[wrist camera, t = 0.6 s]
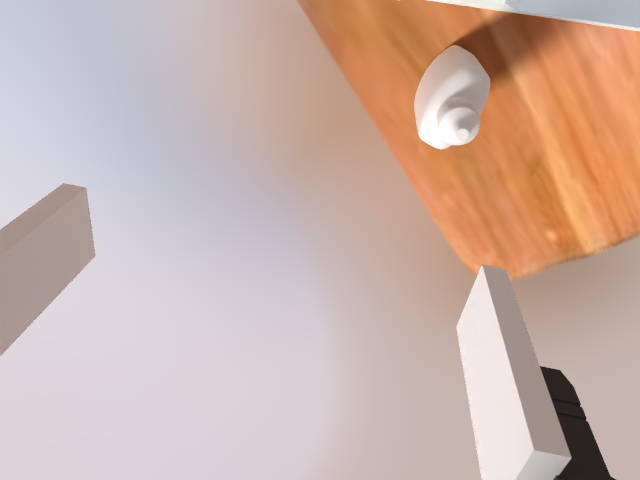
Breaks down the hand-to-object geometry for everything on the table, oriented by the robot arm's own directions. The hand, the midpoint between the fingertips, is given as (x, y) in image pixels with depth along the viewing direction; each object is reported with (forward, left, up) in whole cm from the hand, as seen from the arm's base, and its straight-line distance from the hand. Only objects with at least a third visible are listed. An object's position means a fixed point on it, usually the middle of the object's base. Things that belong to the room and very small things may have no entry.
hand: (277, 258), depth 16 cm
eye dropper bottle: (-1, +8, -26) cm, 27 cm away
